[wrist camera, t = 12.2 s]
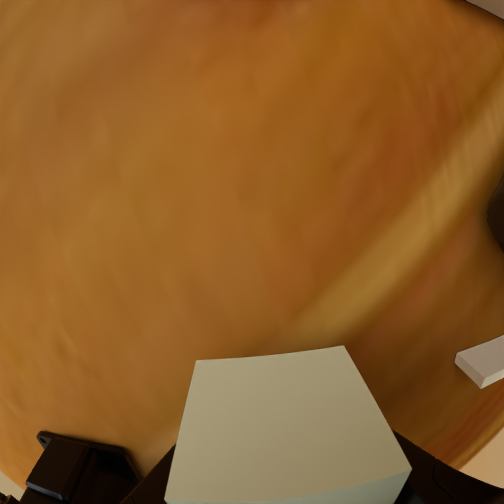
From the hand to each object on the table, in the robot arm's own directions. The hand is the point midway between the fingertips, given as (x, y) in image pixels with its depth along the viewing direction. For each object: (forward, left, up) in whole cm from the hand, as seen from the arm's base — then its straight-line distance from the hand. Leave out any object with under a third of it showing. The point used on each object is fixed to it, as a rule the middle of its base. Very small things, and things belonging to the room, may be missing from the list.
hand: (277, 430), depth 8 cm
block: (0, 0, -1) cm, 1 cm away
